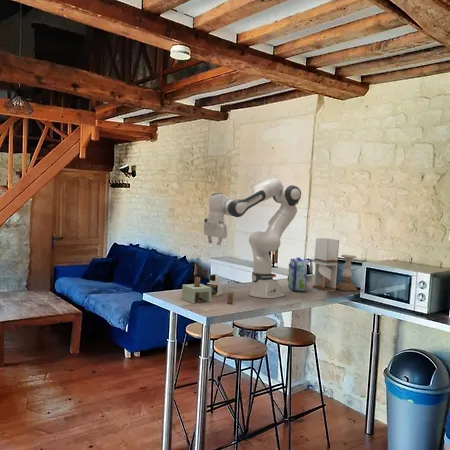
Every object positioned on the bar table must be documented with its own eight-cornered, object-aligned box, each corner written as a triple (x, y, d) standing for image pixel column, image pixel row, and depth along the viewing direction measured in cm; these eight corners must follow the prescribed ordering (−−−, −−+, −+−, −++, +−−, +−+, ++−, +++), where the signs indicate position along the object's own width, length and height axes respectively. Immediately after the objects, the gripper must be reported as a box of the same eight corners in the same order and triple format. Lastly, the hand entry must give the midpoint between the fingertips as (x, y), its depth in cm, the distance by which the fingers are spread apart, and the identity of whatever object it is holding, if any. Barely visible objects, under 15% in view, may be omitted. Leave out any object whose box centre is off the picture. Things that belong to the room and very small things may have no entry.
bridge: (200, 297, 258) (200, 283, 258) (210, 301, 248) (211, 287, 248) (181, 298, 252) (182, 284, 251) (192, 303, 242) (193, 288, 241)
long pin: (197, 299, 252) (198, 276, 251) (199, 300, 249) (201, 277, 249) (192, 299, 250) (193, 277, 249) (195, 301, 248) (196, 278, 247)
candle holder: (357, 291, 309) (359, 257, 307) (342, 291, 306) (345, 256, 305) (349, 288, 319) (351, 254, 318) (335, 287, 317) (337, 254, 315)
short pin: (230, 302, 249) (231, 292, 249) (233, 304, 246) (234, 293, 246) (226, 303, 247) (226, 292, 247) (229, 304, 245) (229, 293, 244)
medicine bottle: (206, 294, 266) (207, 274, 266) (210, 292, 273) (212, 273, 272) (217, 296, 264) (218, 276, 263) (221, 294, 270) (222, 274, 270)
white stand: (312, 288, 308) (316, 238, 306) (323, 287, 314) (327, 238, 312) (323, 291, 298) (327, 240, 296) (335, 291, 304) (339, 240, 302)
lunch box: (286, 285, 316) (288, 255, 315) (301, 286, 315) (303, 256, 314) (290, 292, 290) (292, 260, 289) (307, 293, 289) (309, 261, 288)
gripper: (230, 222, 252) (228, 246, 253) (211, 219, 269) (210, 242, 270) (221, 221, 248) (219, 246, 249) (202, 219, 265) (201, 242, 266)
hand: (214, 244), depth 260 cm, fingers open, 8 cm apart
